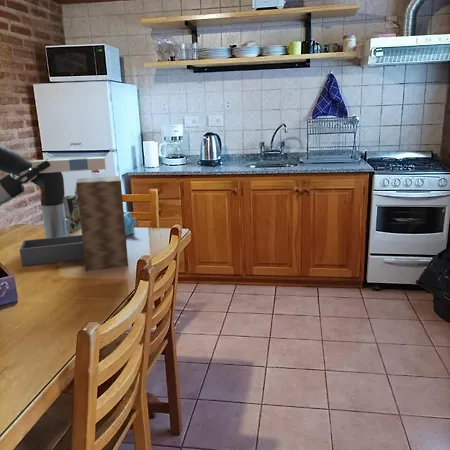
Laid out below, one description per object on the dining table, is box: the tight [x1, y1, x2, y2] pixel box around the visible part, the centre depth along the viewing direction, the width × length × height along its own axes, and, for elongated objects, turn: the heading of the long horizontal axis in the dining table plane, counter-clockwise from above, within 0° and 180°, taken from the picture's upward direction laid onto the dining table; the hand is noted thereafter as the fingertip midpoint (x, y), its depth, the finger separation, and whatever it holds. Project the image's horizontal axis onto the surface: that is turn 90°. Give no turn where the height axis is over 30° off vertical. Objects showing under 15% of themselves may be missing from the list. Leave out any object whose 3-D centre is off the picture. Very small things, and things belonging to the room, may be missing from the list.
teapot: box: [124, 211, 137, 237], centre depth 203 cm, size 15×15×11 cm
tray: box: [19, 234, 85, 268], centre depth 173 cm, size 31×12×7 cm, turn 107°
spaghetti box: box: [31, 156, 107, 173], centre depth 154 cm, size 24×4×4 cm, turn 107°
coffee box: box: [63, 195, 81, 233], centre depth 213 cm, size 9×6×16 cm
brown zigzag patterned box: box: [74, 175, 129, 272], centre depth 162 cm, size 16×12×32 cm
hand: (49, 162), depth 152 cm, fingers closed on spaghetti box, 4 cm apart
